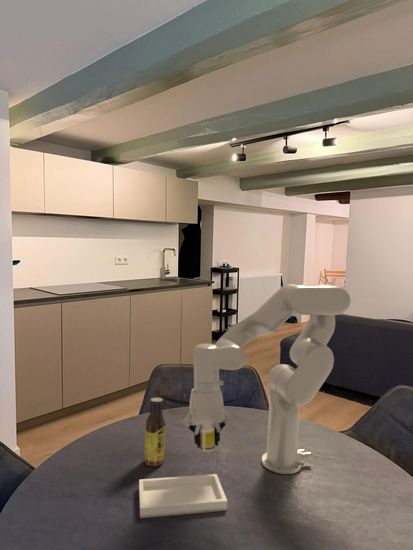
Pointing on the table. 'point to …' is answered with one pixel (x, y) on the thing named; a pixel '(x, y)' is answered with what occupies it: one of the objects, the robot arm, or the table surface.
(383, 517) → the table surface
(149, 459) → the sauce bottle
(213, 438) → the supplement bottle
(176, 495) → the tray
